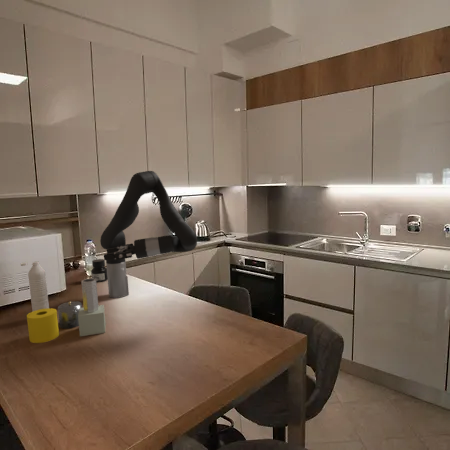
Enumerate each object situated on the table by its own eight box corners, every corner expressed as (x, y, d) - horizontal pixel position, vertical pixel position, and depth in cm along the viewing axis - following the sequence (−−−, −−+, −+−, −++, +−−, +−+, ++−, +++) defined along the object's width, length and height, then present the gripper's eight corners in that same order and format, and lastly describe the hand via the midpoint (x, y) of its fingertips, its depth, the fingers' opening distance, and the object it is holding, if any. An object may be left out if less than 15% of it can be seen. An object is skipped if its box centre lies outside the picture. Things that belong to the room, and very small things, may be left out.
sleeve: (98, 307, 142) (96, 277, 140) (98, 311, 137) (95, 281, 135) (84, 308, 140) (82, 279, 139) (83, 313, 135) (81, 282, 134)
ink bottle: (88, 282, 206) (86, 262, 204) (97, 278, 215) (95, 258, 213) (103, 282, 204) (101, 262, 202) (111, 278, 212) (110, 258, 211)
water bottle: (50, 314, 158) (44, 259, 155) (50, 319, 152) (44, 262, 149) (27, 318, 154) (21, 261, 151) (26, 323, 148) (20, 265, 145)
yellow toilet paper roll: (64, 332, 138) (62, 309, 137) (45, 344, 129) (42, 319, 128) (43, 330, 141) (41, 307, 140) (23, 341, 132) (20, 317, 130)
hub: (82, 318, 152) (80, 296, 151) (84, 325, 144) (82, 302, 143) (59, 322, 148) (56, 300, 147) (60, 330, 140) (57, 307, 139)
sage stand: (105, 323, 145) (103, 301, 144) (105, 332, 137) (103, 308, 136) (81, 327, 143) (79, 304, 141) (79, 336, 134) (77, 312, 133)
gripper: (146, 234, 148) (106, 241, 145) (145, 242, 134) (101, 249, 132) (149, 252, 149) (109, 259, 147) (148, 261, 136) (104, 268, 133)
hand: (105, 254), depth 139 cm, fingers open, 8 cm apart
